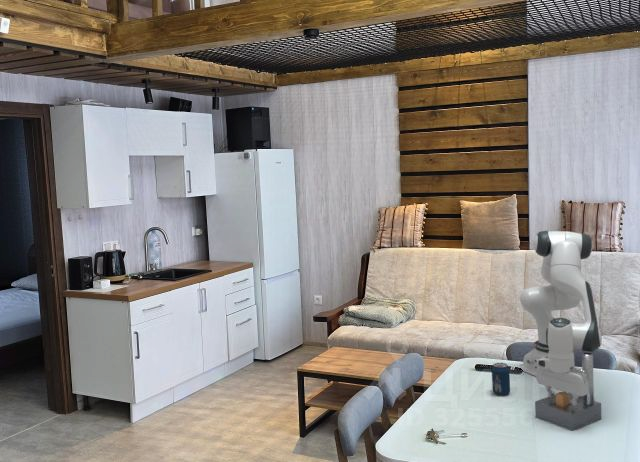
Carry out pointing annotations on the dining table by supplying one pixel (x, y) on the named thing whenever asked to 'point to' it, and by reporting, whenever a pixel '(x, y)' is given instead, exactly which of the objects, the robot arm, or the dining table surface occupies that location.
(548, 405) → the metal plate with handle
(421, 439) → the dining table surface
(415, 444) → the dining table surface
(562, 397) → the orange brown rectangular block
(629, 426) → the dining table surface
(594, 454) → the dining table surface
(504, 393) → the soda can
